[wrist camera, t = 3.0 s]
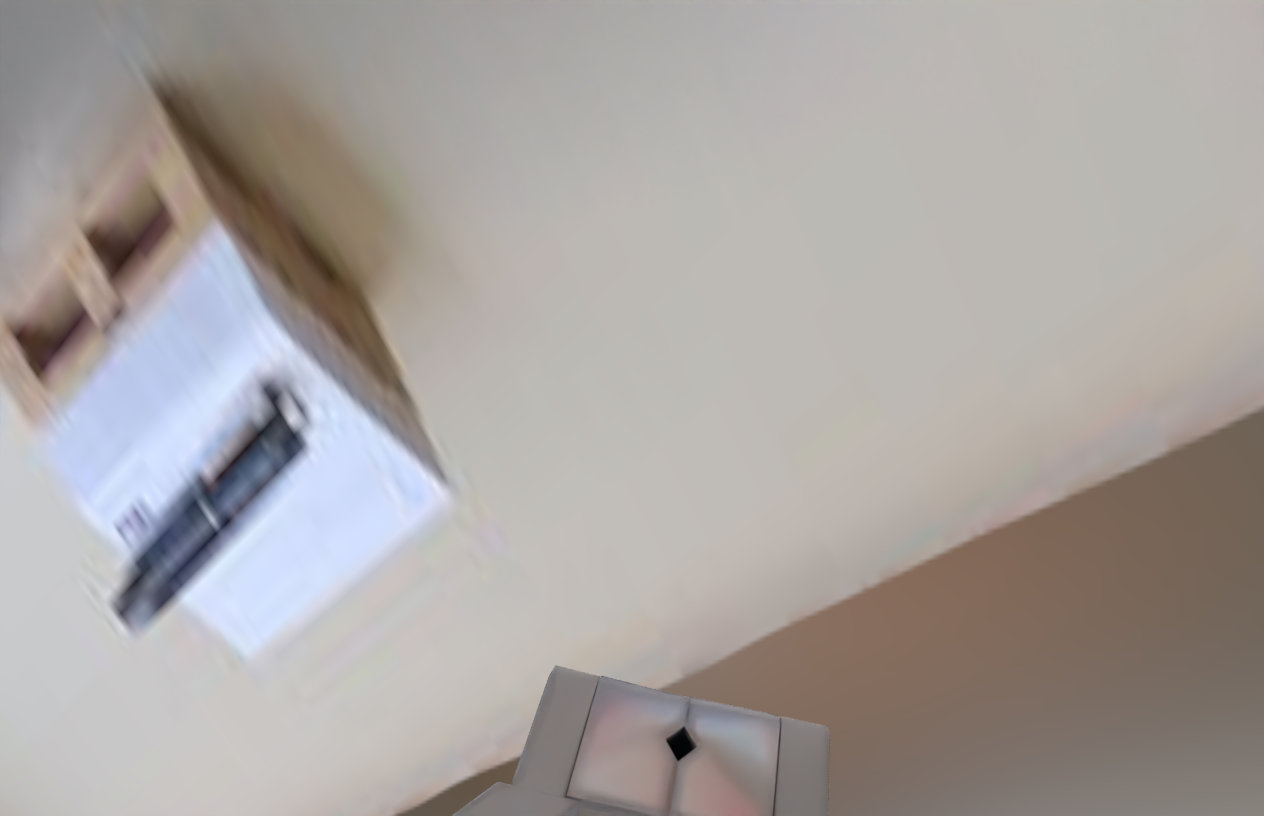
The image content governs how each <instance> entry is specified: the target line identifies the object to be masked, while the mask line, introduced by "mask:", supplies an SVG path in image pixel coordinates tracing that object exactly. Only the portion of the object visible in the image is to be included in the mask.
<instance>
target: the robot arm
mask: <svg viewBox="0 0 1264 816" xmlns="http://www.w3.org/2000/svg"><path fill="white" fill-rule="evenodd" d="M829 755H830V733H829V731H828V728H827V726H823V725H819V724H814V723H810V722H805V721H801V720H795V719H791V718H786V717H782V716H781V717H780V718H779V717H778V715H773V714H769V713H764V712H759V711H754V710H750V709H745V708H740V707H736V706H731V705H726V704H721V703H716V702H712V701H707V700H702V699H697V698H693V697H689V698H688V697H684V696H680V695H676V694H672V693H668V692H664V691H660V690H656V689H652V688H648V687H644V686H640V685H636V684H632V683H628V682H624V681H620V680H616V679H612V678H608V677H604V676H601V678H600V676H597V675H593V674H589V673H584V672H580V671H576V670H572V669H568V668H564V667H560V666H555V667H554V669H553V671H552V672H551V674H550V675H549V677H548V680H547V683H546V686H545V689H544V692H543V695H542V698H541V700H540V703H539V706H538V709H537V712H536V715H535V718H534V721H533V724H532V726H531V729H530V732H529V735H528V738H527V741H526V744H525V747H524V750H523V752H522V755H521V758H520V761H519V764H518V767H517V770H516V773H515V776H514V778H513V781H512V784H511V785H510V784H505V783H500V782H497V783H496V784H495V785H493V786H492V787H490V788H489V789H488V790H486V791H485V792H484V793H482V794H481V795H479V796H478V797H477V798H475V799H474V800H473V801H471V802H470V803H468V804H467V805H466V806H464V807H463V808H462V809H460V810H459V811H458V812H456V813H455V814H453V815H452V816H828V811H829V809H828V808H829V759H830V756H829Z"/></svg>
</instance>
